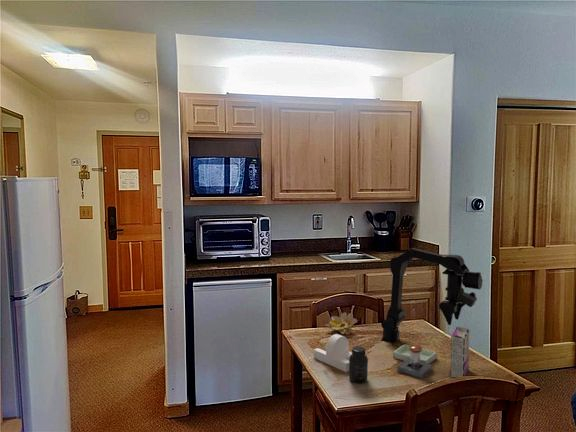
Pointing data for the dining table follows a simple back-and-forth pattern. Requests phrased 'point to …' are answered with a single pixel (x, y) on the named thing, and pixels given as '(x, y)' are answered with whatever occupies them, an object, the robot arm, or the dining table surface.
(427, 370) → the collar
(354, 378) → the supplement bottle
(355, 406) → the dining table surface
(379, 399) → the dining table surface
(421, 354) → the tray
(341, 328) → the decorative flower
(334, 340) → the white tape roll holder
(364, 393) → the dining table surface
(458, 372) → the candy bar box
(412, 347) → the salt shaker
